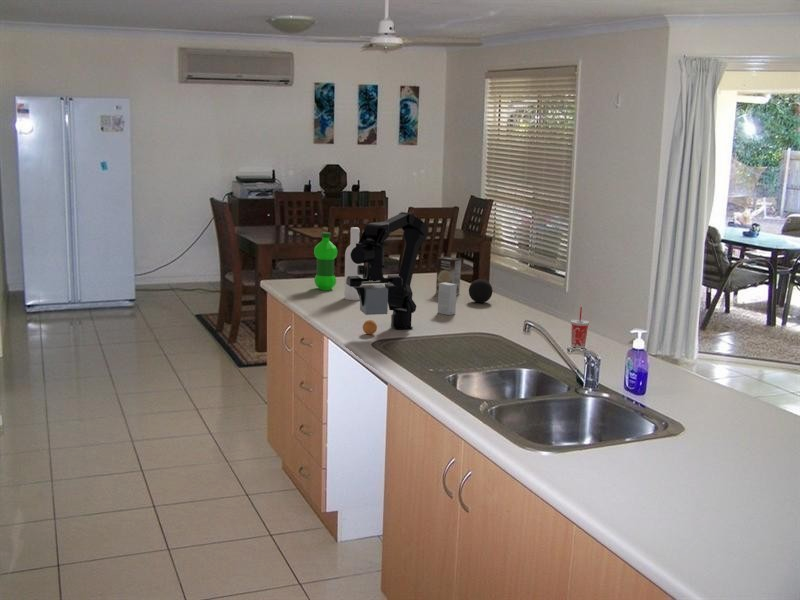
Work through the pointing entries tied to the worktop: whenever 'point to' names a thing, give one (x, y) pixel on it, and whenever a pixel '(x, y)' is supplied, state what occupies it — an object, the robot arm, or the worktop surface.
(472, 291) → the speaker
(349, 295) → the bottle
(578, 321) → the beverage cup
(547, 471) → the worktop surface
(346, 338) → the worktop surface
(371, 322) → the ball
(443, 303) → the skincare box
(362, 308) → the grey block
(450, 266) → the coffee box
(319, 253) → the plastic bottle
